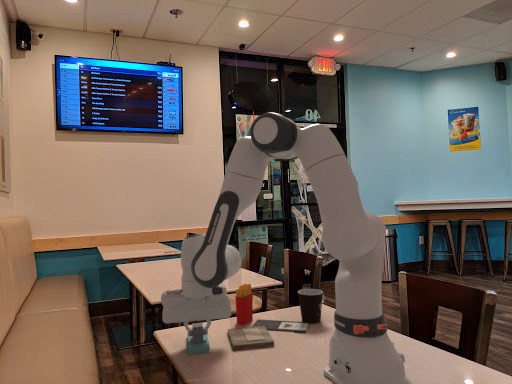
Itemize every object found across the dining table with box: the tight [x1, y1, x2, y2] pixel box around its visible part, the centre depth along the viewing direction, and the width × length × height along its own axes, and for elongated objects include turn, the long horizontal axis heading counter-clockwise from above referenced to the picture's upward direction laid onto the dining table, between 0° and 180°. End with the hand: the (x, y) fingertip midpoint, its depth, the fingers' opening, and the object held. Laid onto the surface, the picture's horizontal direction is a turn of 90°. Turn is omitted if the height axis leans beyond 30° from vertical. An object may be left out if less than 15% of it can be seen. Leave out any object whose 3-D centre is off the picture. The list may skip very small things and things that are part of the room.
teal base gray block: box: [187, 322, 211, 355], centre depth 113 cm, size 14×6×5 cm, turn 11°
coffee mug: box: [297, 288, 324, 325], centre depth 134 cm, size 12×9×10 cm
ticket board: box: [227, 326, 275, 351], centre depth 116 cm, size 14×12×2 cm
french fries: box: [234, 283, 254, 326], centre depth 133 cm, size 9×4×13 cm, turn 156°
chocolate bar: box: [251, 319, 310, 334], centre depth 127 cm, size 9×1×18 cm
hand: (197, 334), depth 113 cm, fingers closed on teal base gray block, 3 cm apart
